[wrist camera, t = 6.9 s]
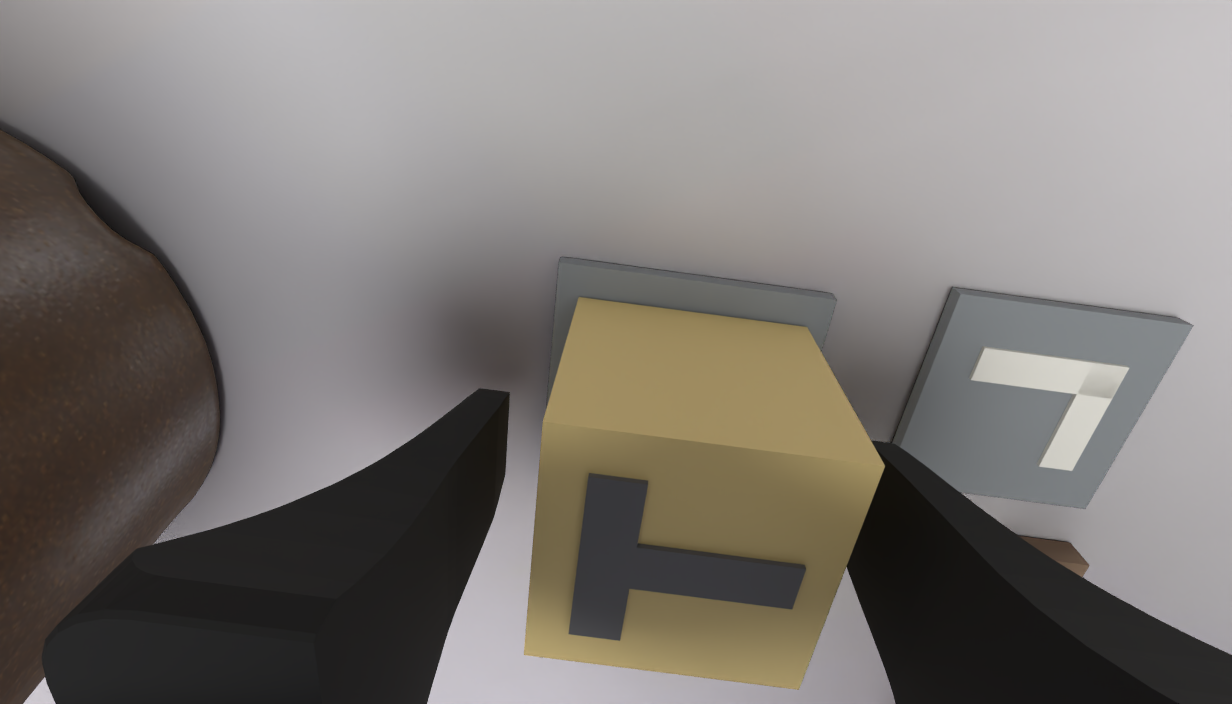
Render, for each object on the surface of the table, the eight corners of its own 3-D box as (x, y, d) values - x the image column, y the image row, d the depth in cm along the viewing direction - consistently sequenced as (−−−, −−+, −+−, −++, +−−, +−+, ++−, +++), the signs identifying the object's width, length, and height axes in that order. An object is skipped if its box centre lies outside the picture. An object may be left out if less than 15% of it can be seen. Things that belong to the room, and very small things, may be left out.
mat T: (832, 293, 14) (838, 301, 13) (768, 505, 16) (772, 518, 16) (561, 256, 14) (558, 264, 13) (541, 476, 16) (538, 488, 16)
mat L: (1179, 318, 13) (1197, 327, 13) (1075, 498, 16) (1087, 511, 15) (952, 287, 13) (963, 295, 13) (880, 472, 16) (887, 485, 15)
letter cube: (807, 326, 13) (887, 470, 9) (756, 506, 16) (800, 695, 11) (578, 297, 13) (541, 425, 9) (560, 480, 16) (522, 659, 11)
